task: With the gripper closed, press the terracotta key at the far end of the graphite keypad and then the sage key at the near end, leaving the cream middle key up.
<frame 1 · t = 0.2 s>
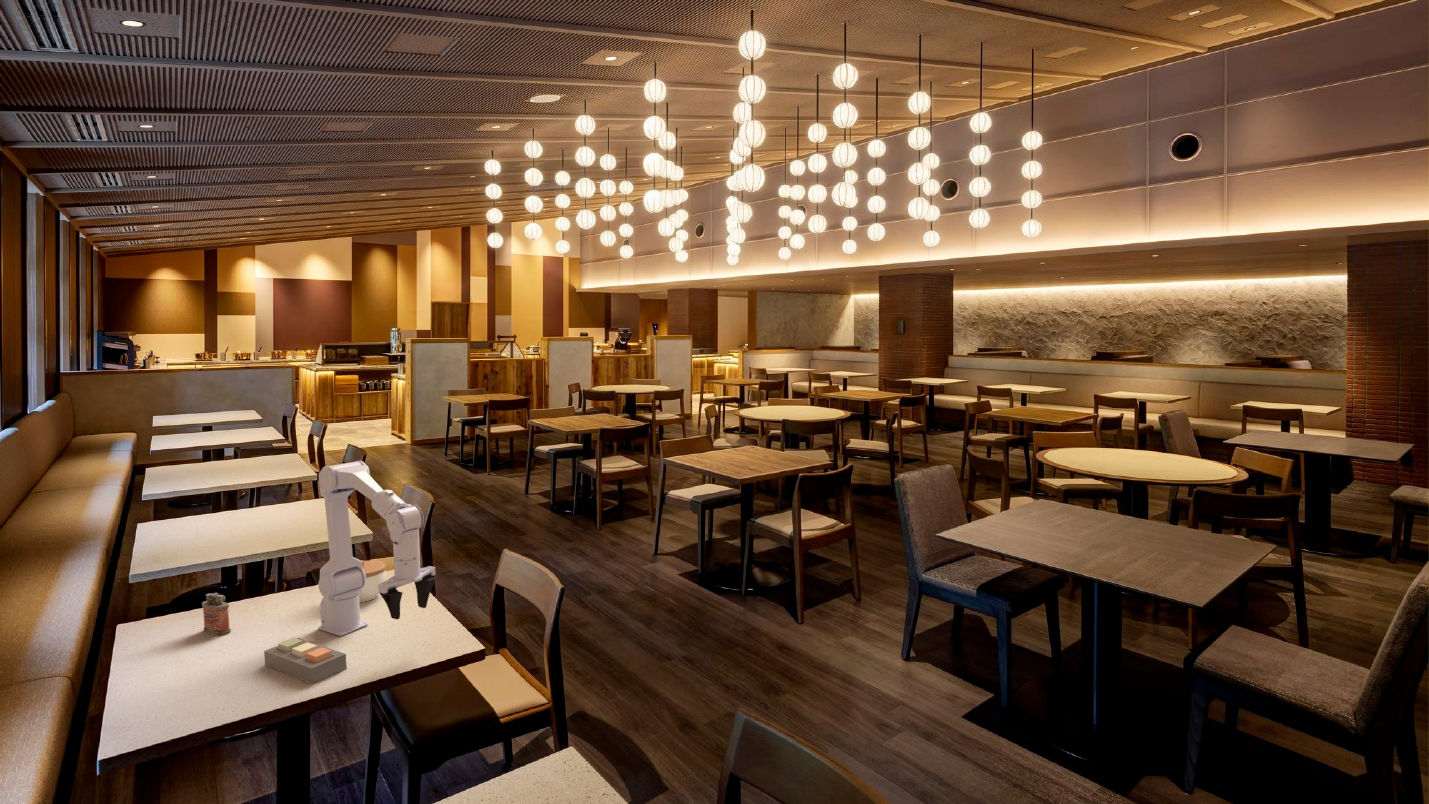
hand: (409, 612, 170), 10 cm above the table, tool pointing down, fingers open, 7 cm apart
sage key: (290, 647, 166), point 4 cm above the table, slide at 0.0 cm
lidded bowl: (363, 598, 206), on the table
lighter: (217, 632, 183), on the table
keypad: (305, 667, 163), on the table
cream key: (304, 652, 163), point 4 cm above the table, slide at 0.0 cm
terracotta key: (319, 657, 161), point 4 cm above the table, slide at 0.0 cm
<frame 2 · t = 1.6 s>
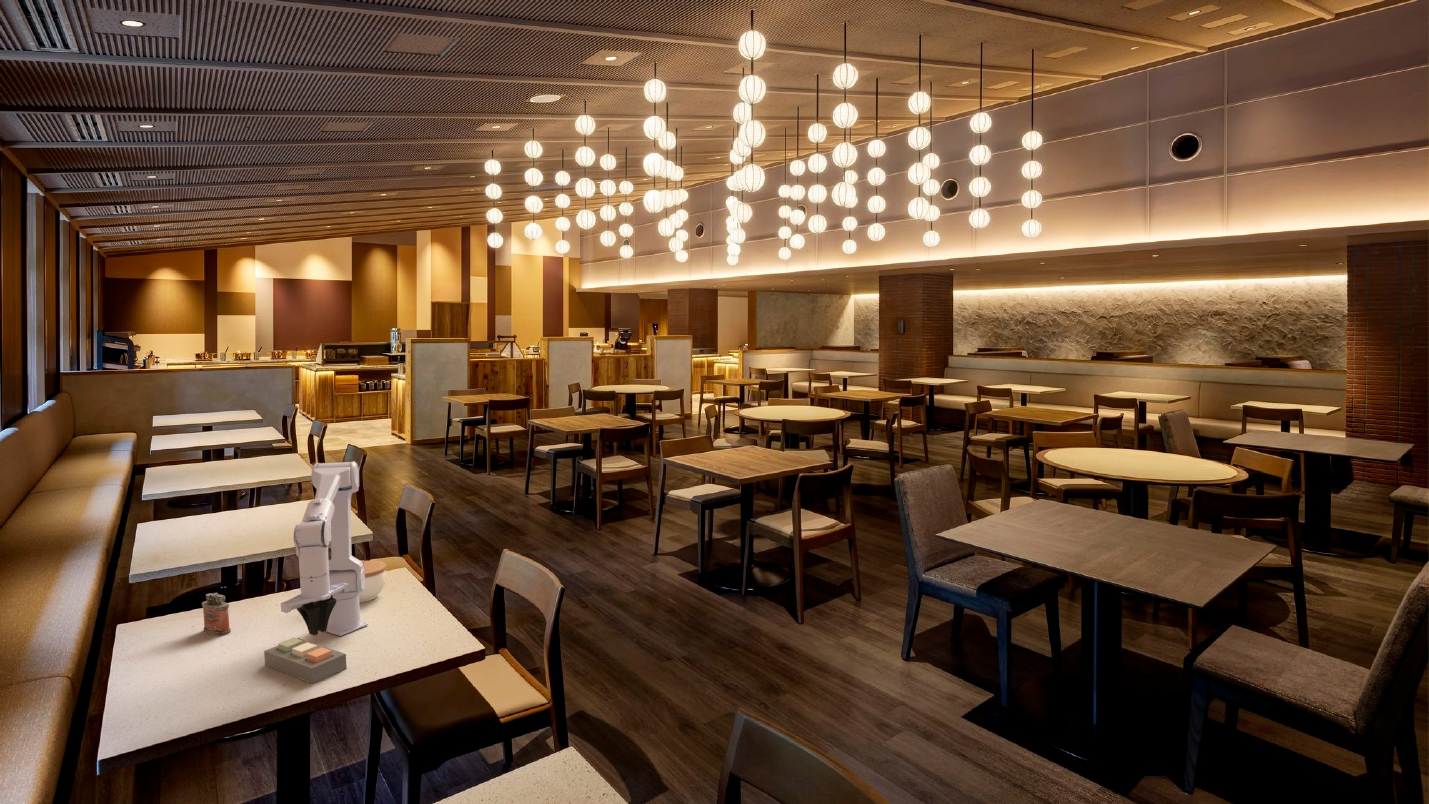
hand: (317, 632, 160), 9 cm above the table, tool pointing down, fingers closed
nothing on the table moved.
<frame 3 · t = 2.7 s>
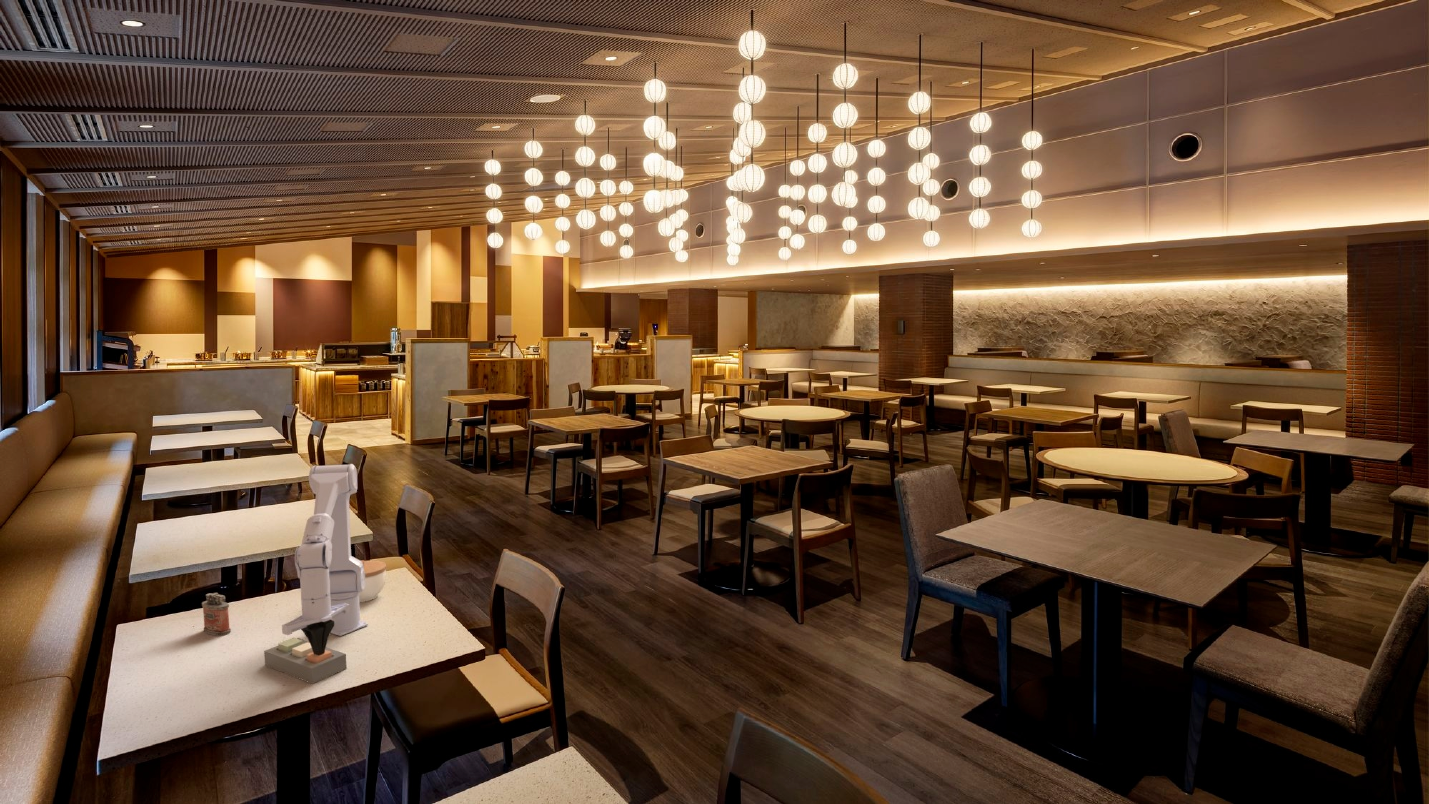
hand: (319, 653, 160), 4 cm above the table, tool pointing down, fingers closed, pressing on terracotta key
terracotta key: (319, 658, 161), point 3 cm above the table, slide at 0.3 cm, touching gripper
everything else where it was.
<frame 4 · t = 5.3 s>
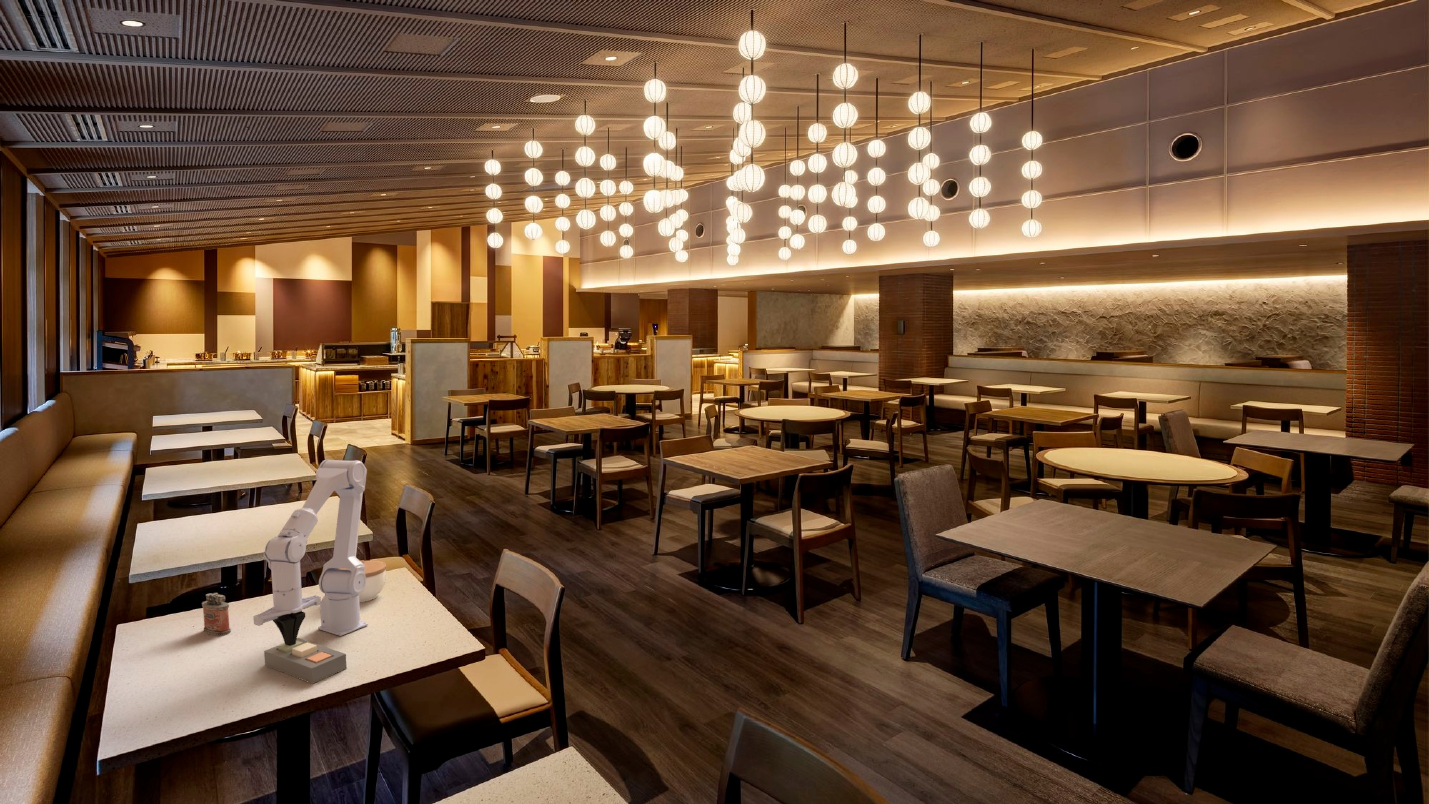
hand: (290, 644, 166), 4 cm above the table, tool pointing down, fingers closed, pressing on sage key
sage key: (290, 649, 166), point 3 cm above the table, slide at 0.4 cm, touching gripper
terracotta key: (319, 662, 161), point 2 cm above the table, slide at 1.1 cm
everything else where it was.
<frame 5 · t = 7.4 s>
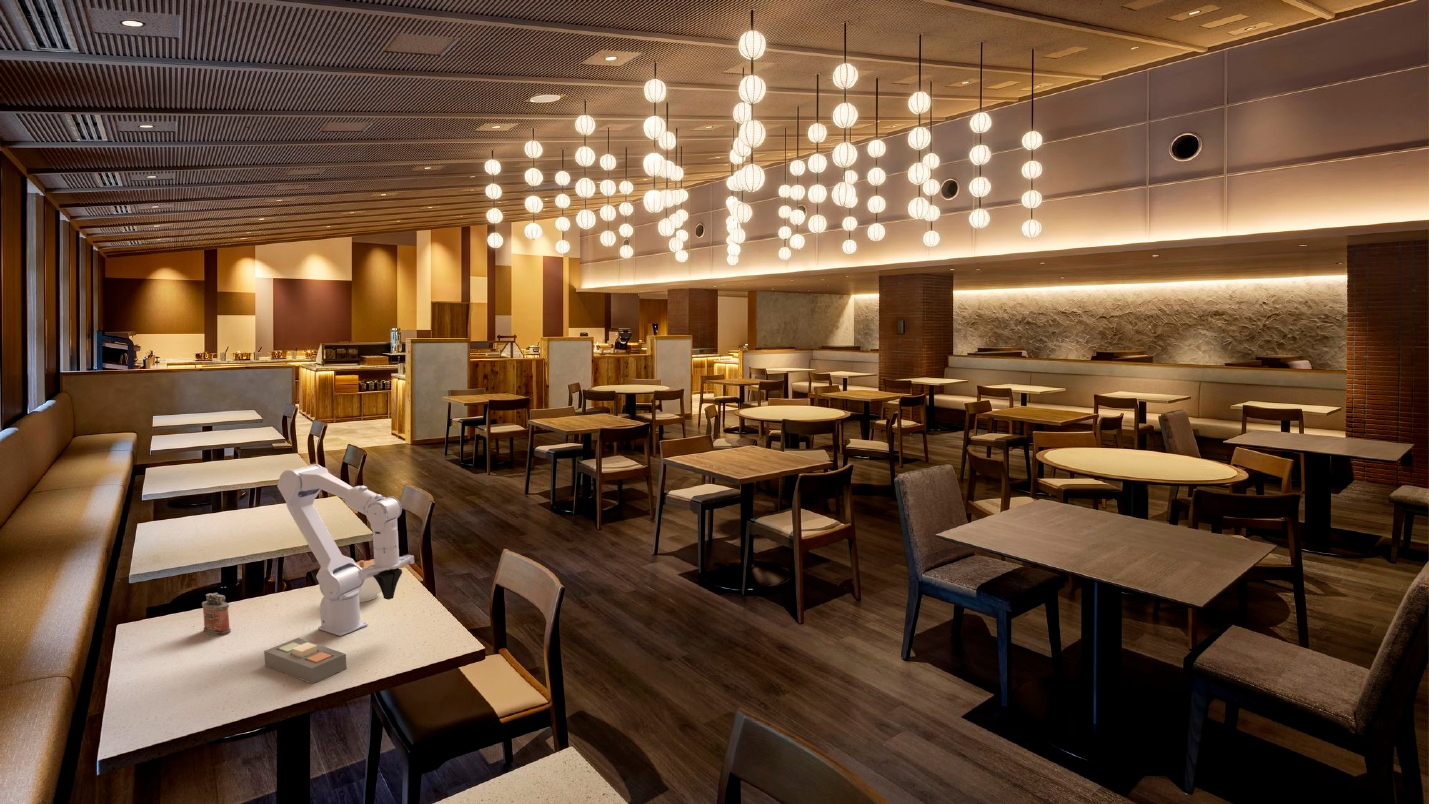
hand: (388, 598, 181), 9 cm above the table, tool pointing down, fingers closed
sage key: (291, 651, 166), point 2 cm above the table, slide at 1.1 cm
everything else where it was.
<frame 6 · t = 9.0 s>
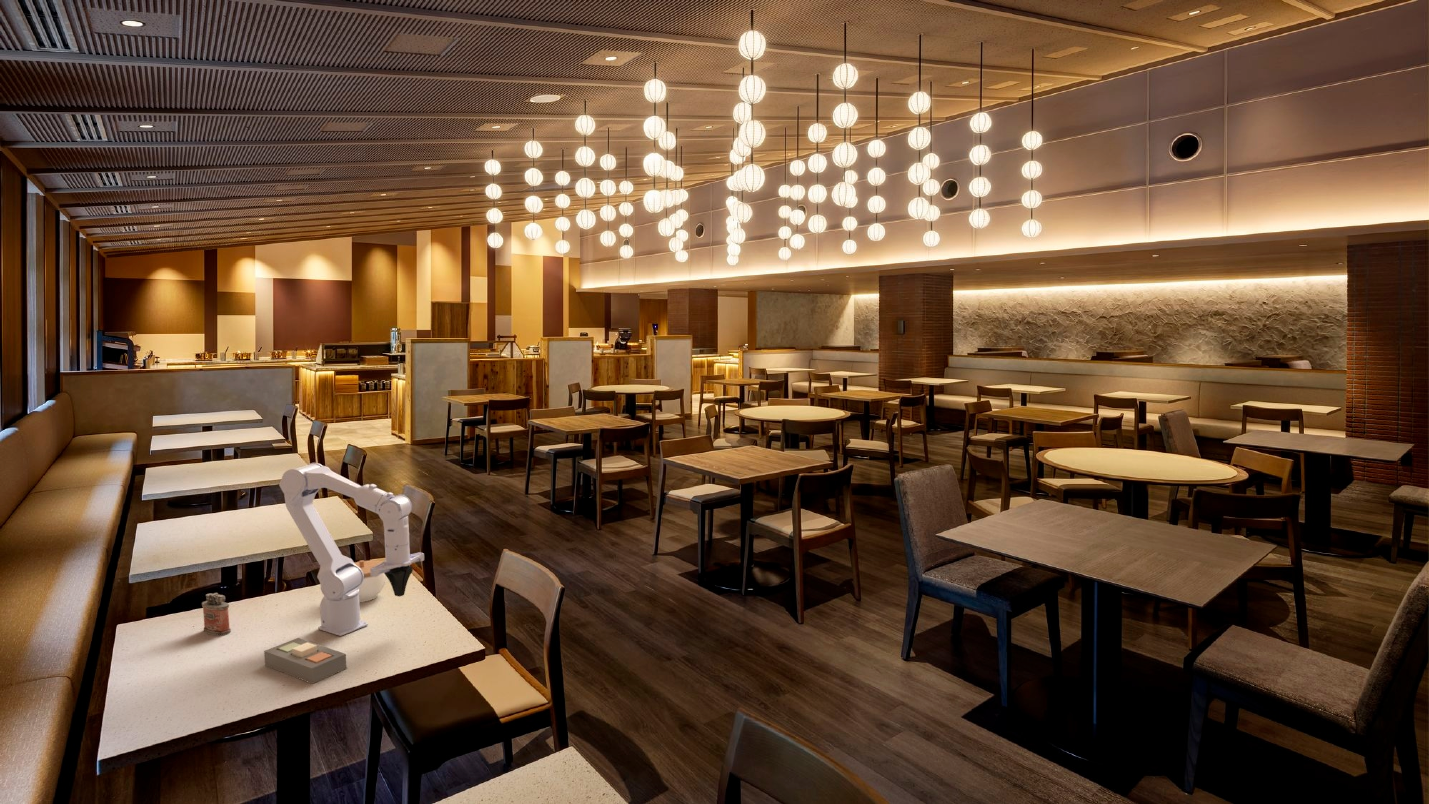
hand: (399, 595, 183), 9 cm above the table, tool pointing down, fingers closed
nothing on the table moved.
at the end: terracotta key slide at 1.1 cm; sage key slide at 1.1 cm; cream key slide at 0.0 cm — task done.
